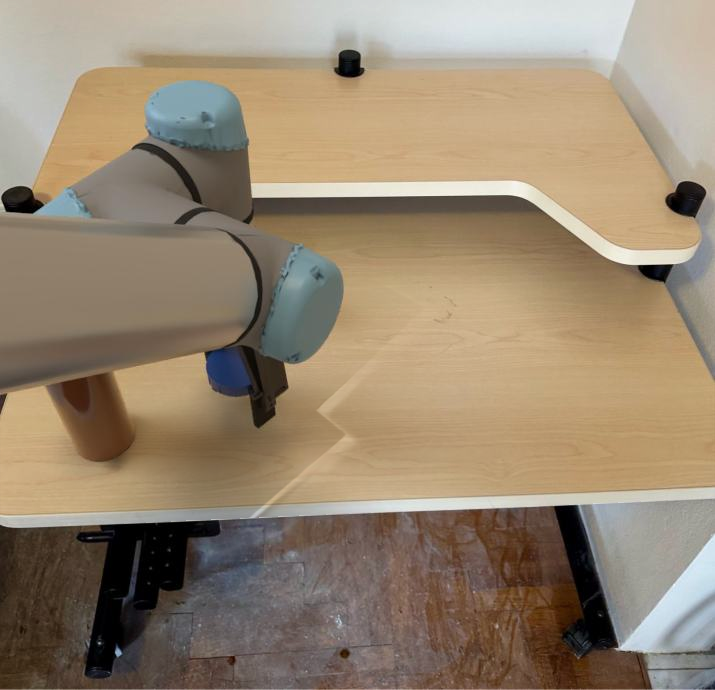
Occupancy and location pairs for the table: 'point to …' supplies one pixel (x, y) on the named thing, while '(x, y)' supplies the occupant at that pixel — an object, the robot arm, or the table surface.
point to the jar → (94, 415)
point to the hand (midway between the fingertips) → (243, 401)
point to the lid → (227, 372)
